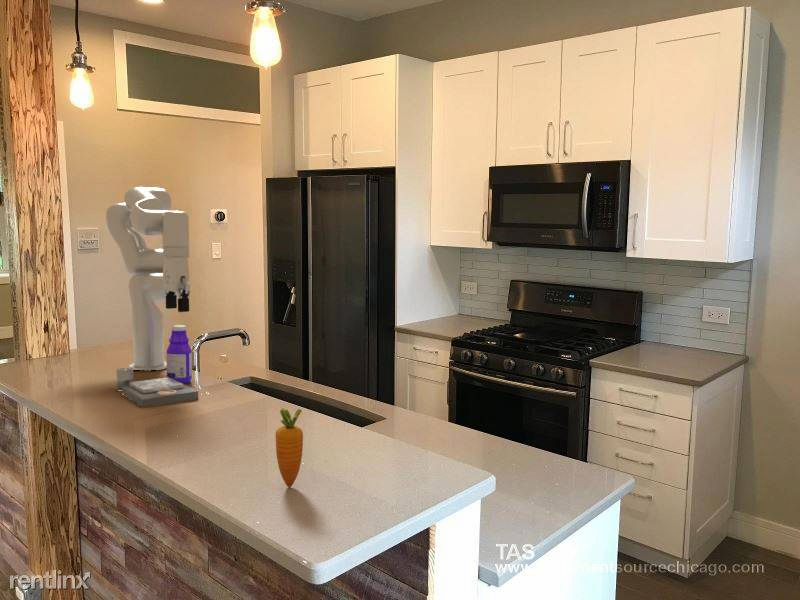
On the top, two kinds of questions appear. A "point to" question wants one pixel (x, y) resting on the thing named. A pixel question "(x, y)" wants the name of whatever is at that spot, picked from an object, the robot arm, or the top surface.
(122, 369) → the cylinder
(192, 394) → the scale
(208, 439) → the top surface
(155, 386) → the platform
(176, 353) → the bottle
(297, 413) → the carrot
